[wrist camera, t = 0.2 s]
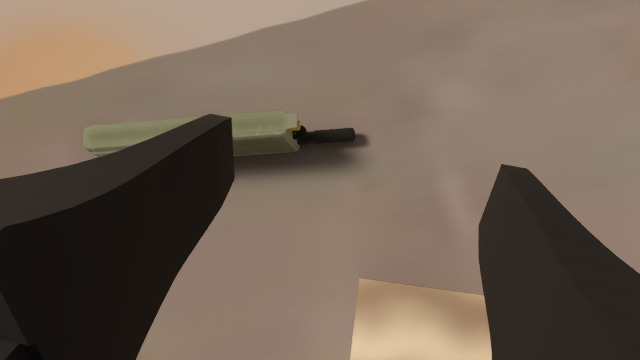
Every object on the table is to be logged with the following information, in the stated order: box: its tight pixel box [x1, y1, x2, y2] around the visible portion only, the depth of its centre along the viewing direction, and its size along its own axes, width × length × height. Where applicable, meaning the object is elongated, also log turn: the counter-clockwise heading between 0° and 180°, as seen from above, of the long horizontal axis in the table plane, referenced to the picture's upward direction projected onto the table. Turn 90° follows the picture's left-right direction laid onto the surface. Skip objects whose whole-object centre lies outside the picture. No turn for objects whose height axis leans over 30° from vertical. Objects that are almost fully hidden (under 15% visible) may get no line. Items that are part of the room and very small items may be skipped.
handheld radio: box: [83, 110, 355, 157], centre depth 43 cm, size 7×3×25 cm
